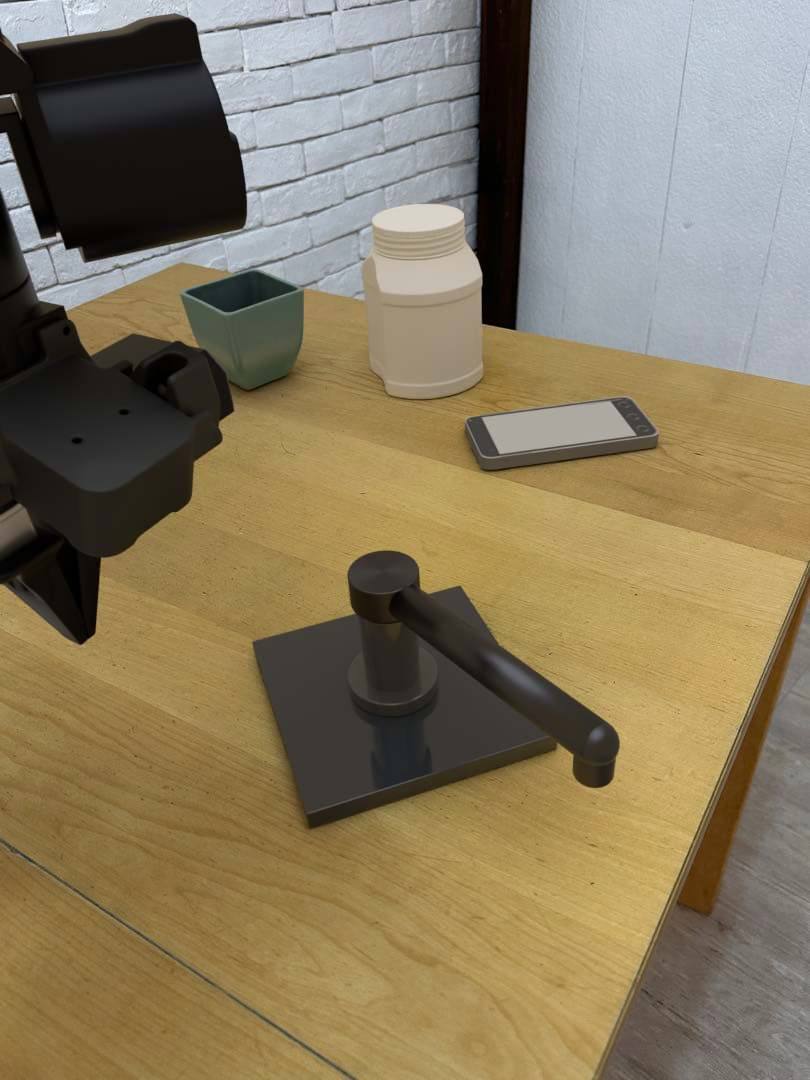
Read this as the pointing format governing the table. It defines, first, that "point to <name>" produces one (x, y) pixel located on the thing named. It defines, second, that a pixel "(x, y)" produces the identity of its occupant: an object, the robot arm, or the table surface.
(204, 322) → the flower pot
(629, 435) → the smartphone
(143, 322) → the table surface
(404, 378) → the jar
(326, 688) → the black flat block
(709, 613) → the table surface
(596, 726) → the spout
